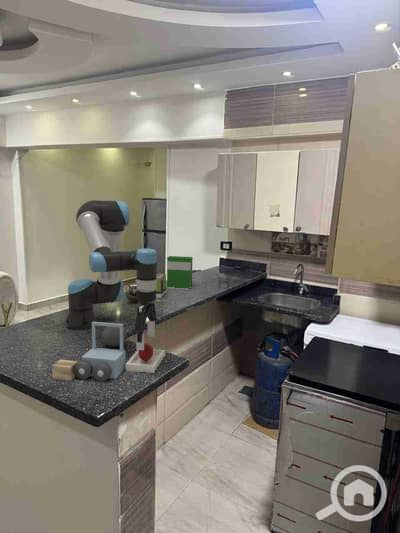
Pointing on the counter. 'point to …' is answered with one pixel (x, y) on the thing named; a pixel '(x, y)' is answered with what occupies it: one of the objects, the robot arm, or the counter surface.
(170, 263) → the hardback book
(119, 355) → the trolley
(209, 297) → the counter surface
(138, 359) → the tray
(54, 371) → the block
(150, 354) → the red rounded piece
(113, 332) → the decorative ball
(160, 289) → the tea box
